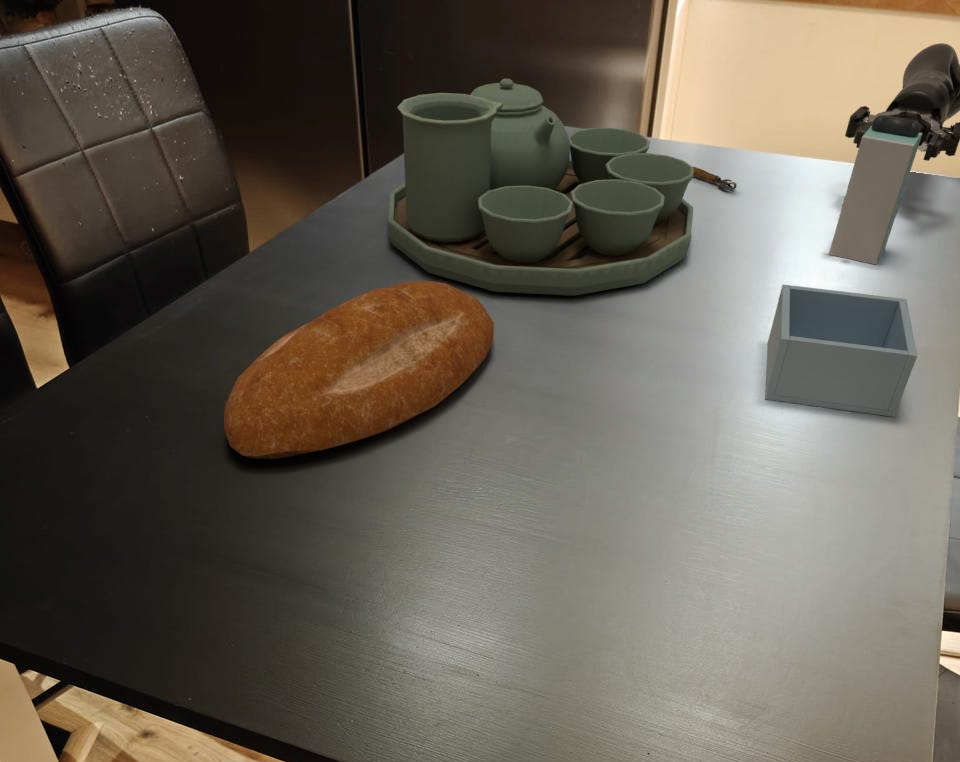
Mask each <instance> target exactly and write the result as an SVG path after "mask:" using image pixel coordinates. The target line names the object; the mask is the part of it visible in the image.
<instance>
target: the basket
mask: <svg viewBox="0 0 960 762" xmlns="http://www.w3.org/2000/svg"><path fill="white" fill-rule="evenodd" d="M775 308H776V309H775V313H774V316H773V321H772V325H771V329H770V332H769V336H768V339H767V349H766V350H767V351H766V353H767V354H766V372H765V393H764V394H765V395H764V399H765V400H769V401H775V402H781V403H789V404H790V403H791V404H798V405H804V406H805V405H806V406H811V407H818V408H819V407H820V408H827V409H833V410H841V411H846V412H847V411H848V412H856V413H862V414H868V415H869V414H870V415H878V416H883V417H884V416H885V417H891V418H895V416H896V414H897V410H898V408H899V405H900V402H901V400H902V397H903V395H904V392H905V389H906V387H907V384H908V381H909V379H910V376H911V373H912V371H913V368H914V366H915V363H916V361H917V357H918V353H917V348H916V347H917V346H916V343H915V338H914V337H915V336H914V332H913V331H914V330H913V327H912V322H911V316H910V315H911V314H910V311H909V305H908V299H907V298H902V297H899V298H898V297H893V296H892V297H891V296H884V295H875V294H867V293H858V292H850V291H842V290H834V289H825V288H817V287H809V286H801V285H792V284H791V285H790V284H782V285H781V289H780V293H779V296H778V301H777V304H776V307H775Z"/></svg>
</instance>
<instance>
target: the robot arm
mask: <svg viewBox="0 0 960 762" xmlns="http://www.w3.org/2000/svg"><path fill="white" fill-rule="evenodd" d="M959 112H960V62H959V57H958V53H957V52H956V50H955V48H954V47H953V46H951V45H950V44H948V43H944V42H943V43H942V42H941V43H935V44H931V45H929V46H927V47H925V48H923V49H922V50H920V51H919V52H918V53H917V54H915V56H913V57H912V58H911V60H909V63H908V64H907V66H906V67H905V69H904V71H903V76H902V88H901V90H900V91H899V92H898V93H897V95H896V96H895V97H894V99H893V100H892V101H891V102H890V103H889V105H888V106H887V108H886V109H885V111H882V112H878V113H876V114H872V113H871V110H870V107H869V106H866V105H864V106H860V107H859V108H857V110H855V111H854V112H852V114H851V115H850V116H849V119H848V124H847V127H846V131H845V135H844V137H846V138H848V139H852V138H853V140H852V141H853V144H856V149H859V146H860V142H861V139H862V137H863V135H864V134H865V133H866V132H867V130H868V129H869V128H870V127H871V126H872V122H873V120H874V119H875V118H876V117H878V116H880V115H886V116H892V117H898V118H904V119H910V120H915V121H918V122H919V124H920V126H921V129H920V132H919V133H922V137H921V140H920V143H919V146H918V149H917V151H919V152H923V153H924V152H925V153H924V155H923V159H922V160H923V161H926V162H929V161H930V160H931V159H932V158H933V159H935V158H937V157H938V155H940V154H941V152H945V153H944V154H945V155H946V156H948V157H953V156H956V152H957V151H958V146H959V144H960V122H955V123H954V124H951V125H950V126H949V127H947V126H943V125H944V123H945V122H946V121H948V120H950V119H951V118H953V117H954V116H955V115H957V114H958V113H959Z"/></svg>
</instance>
